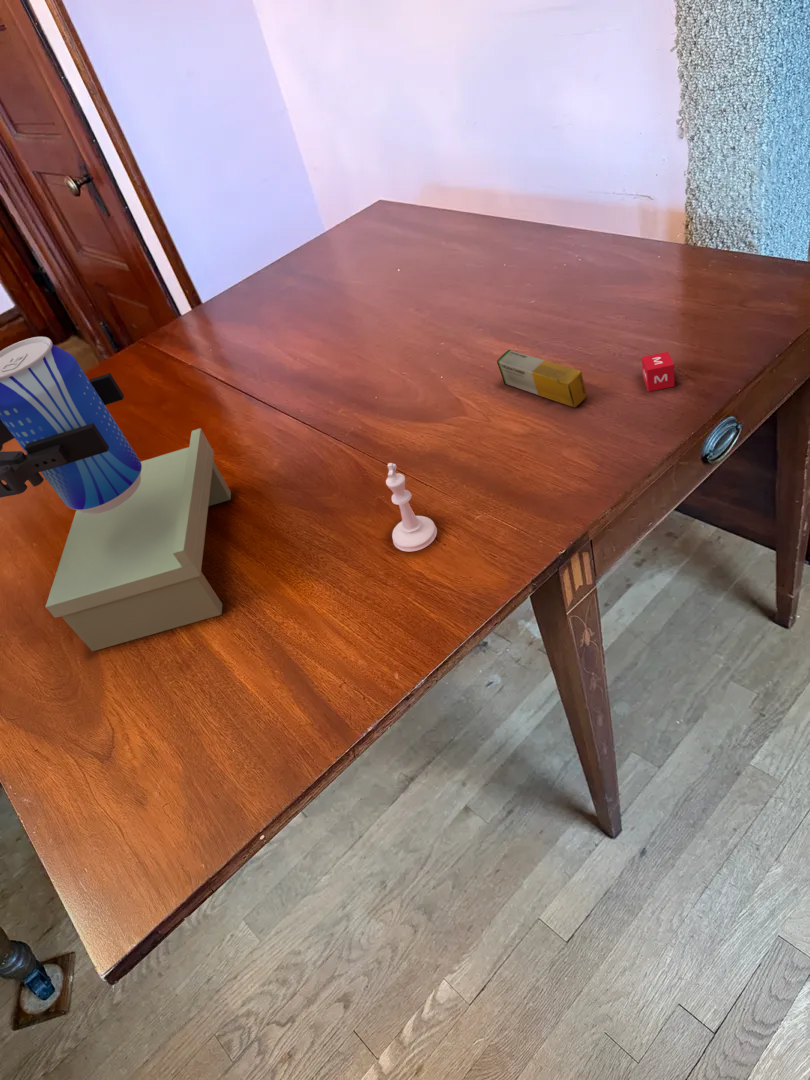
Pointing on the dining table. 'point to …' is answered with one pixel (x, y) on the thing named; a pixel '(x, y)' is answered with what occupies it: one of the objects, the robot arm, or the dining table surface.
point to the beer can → (65, 423)
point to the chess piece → (408, 517)
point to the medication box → (542, 378)
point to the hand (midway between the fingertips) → (108, 410)
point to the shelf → (143, 554)
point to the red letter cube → (658, 371)
